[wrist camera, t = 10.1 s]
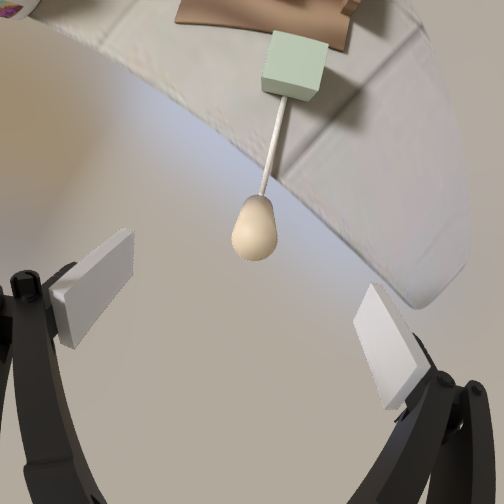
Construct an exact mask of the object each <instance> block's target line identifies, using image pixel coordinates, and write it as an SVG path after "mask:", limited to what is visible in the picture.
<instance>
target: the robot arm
mask: <svg viewBox="0 0 504 504" xmlns="http://www.w3.org/2000/svg"><path fill="white" fill-rule="evenodd" d="M134 232H135V231H134V230H130V229H126V228H122V229H120V230H119V231H118V232H116V233H115V234H114V235H112V236H111V237H110V238H108V239H107V240H106V241H105V242H103V243H102V244H101V245H99V246H98V247H97V248H96V249H94V250H93V251H92V252H91V253H90V254H88V255H87V256H86V257H85V258H83V259H82V260H81V261H80V262H79V263H77V262H72V263H70V264H67V265H65V266H64V267H63V268H61V269H60V270H59V272H57V273H55V274H54V276H52V277H51V278H49V279H48V280H47V281H46V282H45V283H44V284H42V285H41V283H40V277H39V274H38V273H37V272H35V271H32V270H24V271H20V272H18V273H16V274H14V275H13V276H12V277H11V279H10V283H11V288H12V292H13V296H7V295H4V294H3V290H2V287H1V286H0V430H1V420H2V412H3V404H4V397H5V390H6V386H7V380H8V375H9V370H10V365H11V361H12V357H13V376H14V387H15V398H16V406H17V413H18V420H19V425H20V431H21V436H22V442H23V446H24V451H25V455H26V459H27V464H26V465H25V466H24V470H23V472H24V477H25V480H26V484H27V487H28V490H29V494H30V497H31V500H32V502H33V504H107V502H106V500H105V499H104V497H103V495H102V494H101V492H100V490H99V489H98V487H97V485H96V483H95V481H94V478H93V476H92V474H91V471H90V469H89V467H88V464H87V462H86V459H85V457H84V454H83V452H82V449H81V446H80V443H79V440H78V437H77V435H76V431H75V428H74V425H73V422H72V419H71V415H70V412H69V408H68V405H67V401H66V397H65V393H64V389H63V385H62V381H61V376H60V371H59V367H58V362H57V356H56V350H55V345H54V341H53V338H54V337H55V336H56V335H57V333H58V336H59V340H60V343H61V344H63V345H65V346H67V347H70V348H72V349H75V348H76V347H77V346H78V344H79V343H80V342H81V340H82V339H83V338H84V336H85V335H86V333H87V332H88V331H89V330H90V328H91V327H92V326H93V324H94V323H95V322H96V320H97V319H98V318H99V316H100V315H101V314H102V313H103V311H104V310H105V309H106V308H107V306H108V305H109V304H110V303H111V301H112V300H113V299H114V297H115V296H116V295H117V294H118V292H119V291H120V290H121V289H122V287H123V286H124V285H125V284H126V283H127V282H128V280H129V279H130V278H131V277H132V275H133V255H134V234H135V233H134ZM353 323H354V326H355V329H356V332H357V334H358V337H359V339H360V342H361V345H362V348H363V350H364V353H365V356H366V358H367V361H368V364H369V367H370V370H371V373H372V376H373V379H374V381H375V384H376V387H377V390H378V393H379V397H380V400H381V402H382V406H383V409H384V410H391V409H392V410H393V409H398V408H399V407H400V406H401V404H402V403H403V402H404V401H405V403H406V405H407V408H406V409H405V410H404V411H403V412H402V413H401V415H400V416H399V417H398V418H397V419H396V420H395V421H394V422H395V423H396V422H397V421H398V422H397V424H396V426H395V428H394V430H393V432H392V434H391V436H390V437H389V439H388V441H387V443H386V445H385V446H384V448H383V450H382V451H381V453H380V455H379V457H378V458H377V460H376V461H375V463H374V465H373V466H372V468H371V469H370V471H369V473H368V474H367V476H366V477H365V479H364V480H363V482H362V483H361V484H360V486H359V487H358V489H357V490H356V492H355V493H354V494H353V496H352V497H351V499H350V500H349V501H348V503H347V504H418V502H419V499H420V497H421V495H422V493H423V491H424V488H425V486H426V484H427V481H428V479H429V476H430V474H431V477H430V483H429V490H428V495H427V500H426V504H495V492H496V472H495V451H494V440H493V430H492V423H491V415H490V409H489V403H488V397H487V393H486V390H485V388H484V387H483V385H482V384H481V383H480V382H477V381H474V380H471V381H469V382H468V383H467V384H466V386H465V387H461V386H457V385H456V384H455V381H454V379H453V378H452V377H451V376H450V375H449V374H448V373H446V372H444V371H438V370H437V368H436V366H435V364H434V363H433V361H432V359H431V357H430V355H429V354H427V353H428V352H427V350H426V349H425V348H424V345H423V343H422V342H421V340H420V339H419V338H418V337H417V336H416V335H415V334H414V333H412V332H411V331H410V329H409V327H408V325H407V324H406V322H405V320H404V319H403V317H402V315H401V314H400V312H399V311H398V309H397V307H396V306H395V304H394V303H393V301H392V300H391V298H390V296H389V295H388V293H387V292H386V290H385V289H384V287H383V286H382V285H381V284H375V283H370V286H369V287H368V290H367V292H366V294H365V297H364V299H363V301H362V303H361V305H360V307H359V310H358V312H357V314H356V316H355V318H354V320H353ZM462 423H463V425H462V427H461V429H460V425H461V424H462Z"/></svg>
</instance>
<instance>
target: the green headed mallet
mask: <svg viewBox="0 0 504 504" xmlns="http://www.w3.org/2000/svg"><path fill="white" fill-rule="evenodd" d="M328 46H329V44H327V43H324V42H320V41H317V40H313V39H309V38H306V37H302V36H298V35H294V34H289V33H285V32H280V31H275V30H274V31H273V34H272V38H271V42H270V46H269V49H268V53H267V57H266V61H265V65H264V68H263V72H262V76H261V82H262V91H265V92H270V93H274V94H279V95H283V97H282V99H281V103H280V107H279V111H278V115H277V119H276V123H275V128H274V132H273V136H272V140H271V144H270V148H269V153H268V157H267V161H266V165H265V169H264V174H263V178H262V182H261V186H260V190H259V195H253V196H251V197H249V198H248V199H246V200H245V202H244V204H243V206H242V209H241V212H240V214H239V217H238V219H237V222H236V225H235V228H234V230H233V233H232V244H233V247H234V249H235V251H236V252H237V253H238V254H239V255H240V256H241V257H243V258H244V259H247V260H251V261H259V260H263V259H265V258H267V257H268V256H269V255H271V254H272V252H273V251H274V250H275V248H276V245H277V232H276V225H275V219H274V213H273V207H272V204H271V202H270V200H269V199H267V198H266V197H264V193H265V189H266V186H267V181H268V177H269V173H270V169H271V165H272V161H273V157H274V152H275V148H276V144H277V140H278V136H279V132H280V128H281V123H282V119H283V115H284V111H285V107H286V103H287V97H291V98H295V99H299V100H302V101H306V102H309V100H310V99H311V98H312V97H313V96H314V95H315V94H316V93H317V92H318V90H319V86H320V82H321V77H322V73H323V68H324V64H325V59H326V55H327V50H328ZM286 96H287V97H286Z"/></svg>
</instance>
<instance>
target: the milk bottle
mask: <svg viewBox="0 0 504 504" xmlns="http://www.w3.org/2000/svg"><path fill="white" fill-rule="evenodd" d="M39 2H40V0H0V17H5V18H8V19H12V20H21V19H23V18H25V17H26V16H28V15H29V14H30V13H31V12H32V11H33V10H34V8H35V7H36V6H37V5H38V3H39Z"/></svg>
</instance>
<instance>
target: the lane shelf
mask: <svg viewBox="0 0 504 504" xmlns="http://www.w3.org/2000/svg"><path fill="white" fill-rule="evenodd" d="M360 2H361V0H181V3H180V6H179V9H178V12H177V14H176V17H175V20H174V22H175V23H184V24H204V25H216V26H226V27H235V28H242V29H249V30H255V31H261V32H267V33H272V34H273V31H274V30H275V31H280V32H285V33H289V34H294V35H298V36H302V37H306V38H309V39H313V40H317V41H320V42H324V43H327V44H329V46H328V47H329V48H332V49H335V50H338V51H341V52H343V51H344V46H345V41H346V36H347V31H348V26H349V21H350V16H351V15H352V13H353V12H354V11H355V9H356V8H357V7H358V5H359V4H360Z"/></svg>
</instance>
